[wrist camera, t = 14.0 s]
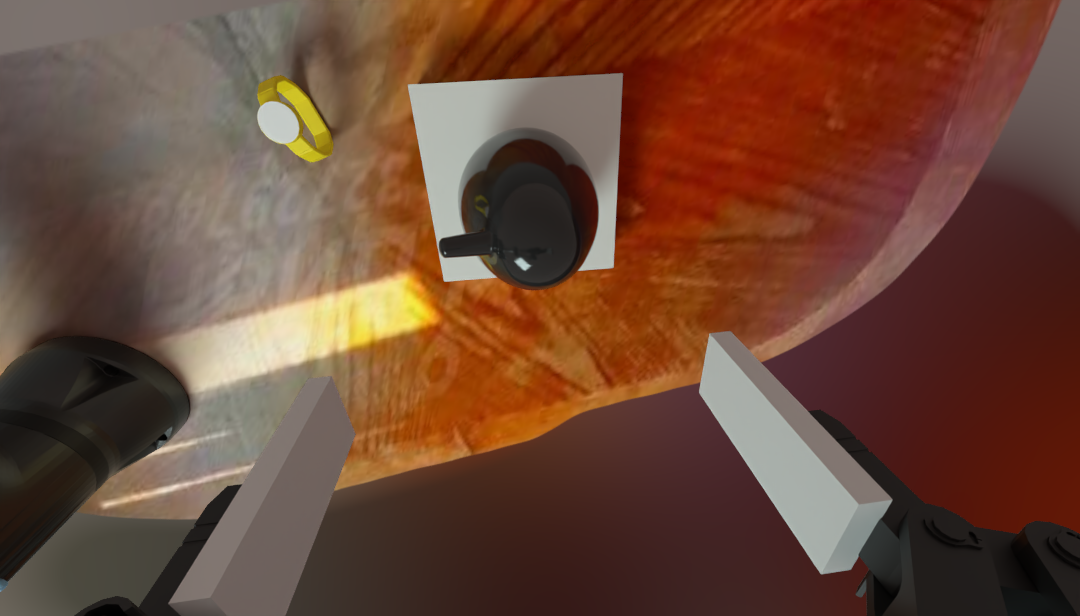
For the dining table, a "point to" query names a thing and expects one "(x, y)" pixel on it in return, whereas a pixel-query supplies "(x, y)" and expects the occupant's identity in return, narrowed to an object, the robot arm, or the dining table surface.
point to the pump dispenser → (526, 209)
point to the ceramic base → (498, 105)
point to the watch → (292, 119)
